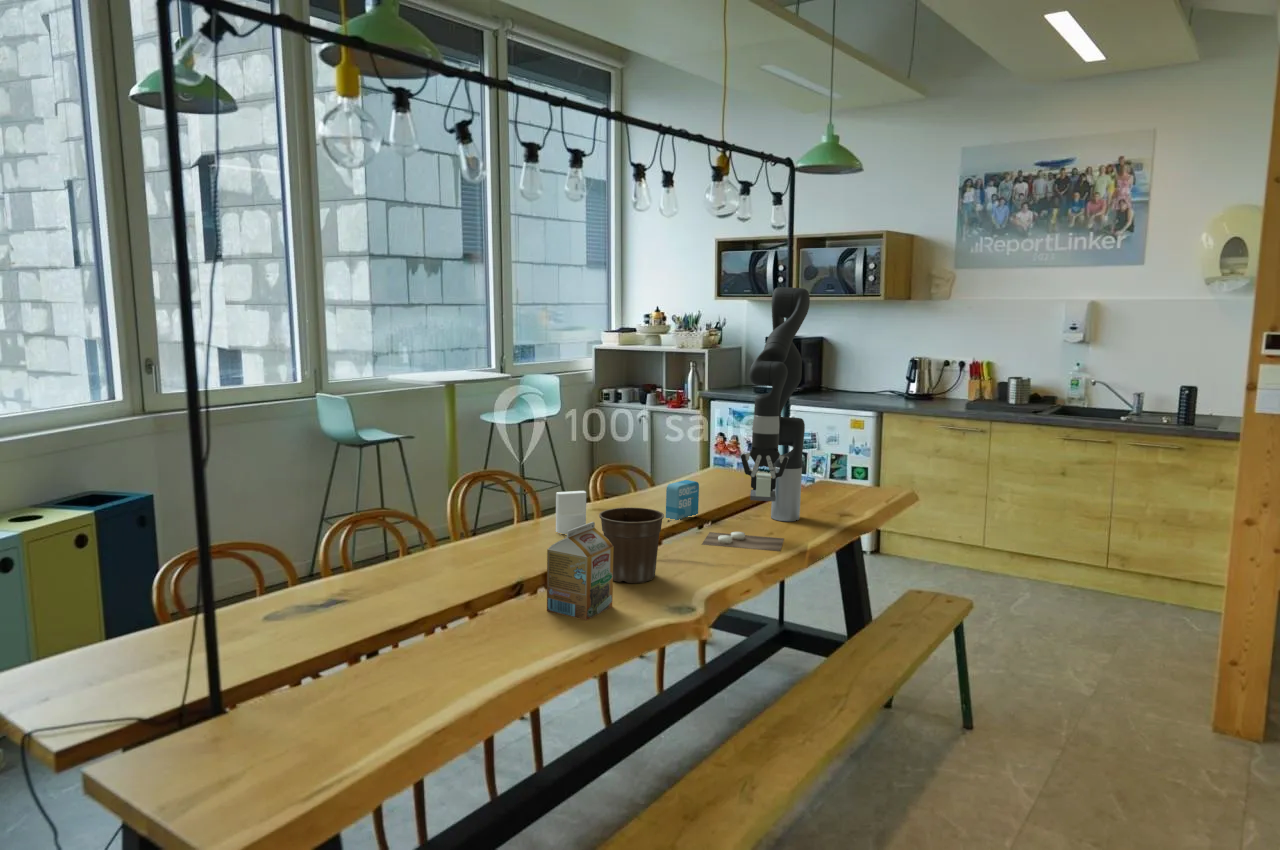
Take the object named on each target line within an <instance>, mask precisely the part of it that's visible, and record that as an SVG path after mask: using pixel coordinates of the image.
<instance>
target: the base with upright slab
mask: <svg viewBox="0 0 1280 850" xmlns="http://www.w3.org/2000/svg"><path fill="white" fill-rule="evenodd" d="M585 524H587V491H586V490H572V491H558V492H555V532H558V533H562V534H567V531H569V530H571V529H574V528H577V527H580V526H582V525H585ZM558 533H557V534H558Z"/></svg>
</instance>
